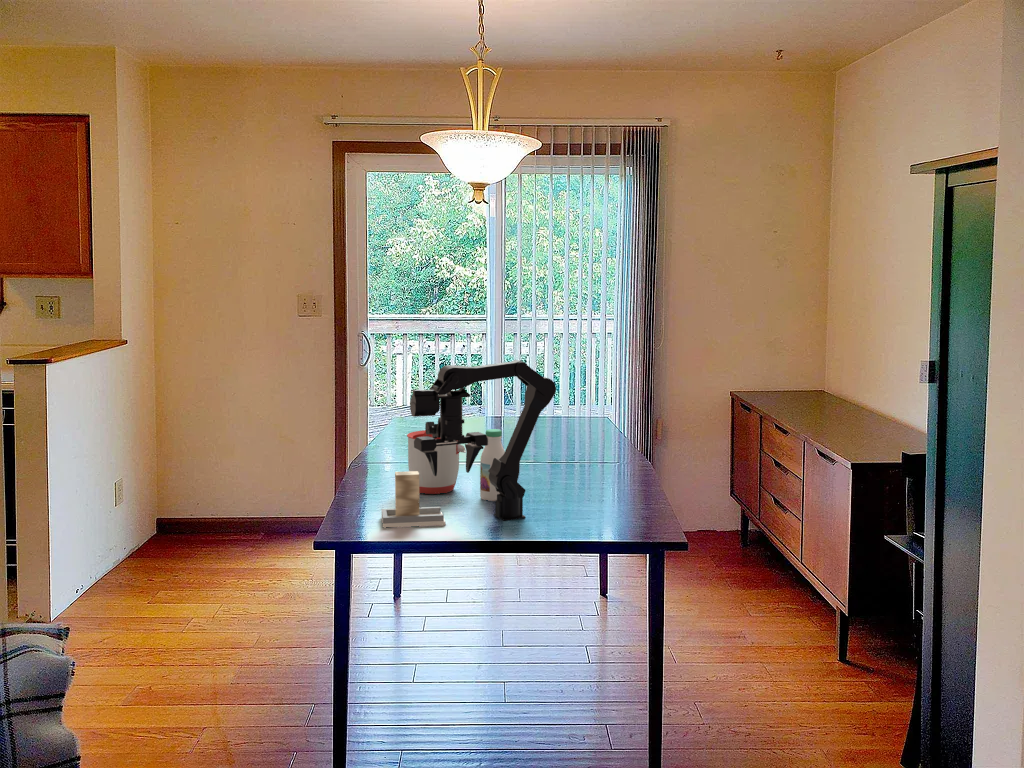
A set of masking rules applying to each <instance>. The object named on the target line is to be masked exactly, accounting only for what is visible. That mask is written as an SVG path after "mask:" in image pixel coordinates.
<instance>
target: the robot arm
mask: <svg viewBox="0 0 1024 768" xmlns="http://www.w3.org/2000/svg"><path fill="white" fill-rule="evenodd" d="M513 377H516V378H517V379H518V380H519V381H520V382H521V383H522V384H523V385H525V386H526V388H525V392H524V405H523V409H522V411H521V413H520V415H519V418H518V420H517V422H516V425H515V428H514V429H513V433H512V434H511V437H510V439H509V441H508V444H507V446H506V449H505V450H504V451H505V453H504V455H503V456H502V457H501V458H500V459H499V460H498V459H496V458H494V459H493V463H492V466H491V468H490V469H489V470H488V472H490V473H489V480H490V483H491V484H492V485H493V486H494V487H495V488H496V491H497V492H499V493H500V494H497V500H496V501H494V502H495V503H494V504H495V505H494V506H495V507H494V508H495V509H494V513H493V516H495V517H496V518H498V519H499V520H502V521H504V522H507V521H508V522H509V521H514V520H522V519H526V515H523V514H524V513H523V512H524V511H523V509H524V508H523V506H524V504H523V503H524V502H523V501H524V499H523V498H524V496H525V493H526V491H527V490H526V488H524V487H523V485H521V484H520V483H519V482H518V480H519V477H520V467H521V466H520V464H521V459H522V457H523V455H524V453H525V451H526V447H527V445H528V444H529V440H530V438H531V436H532V433H533V432H534V428H535V426H536V424H537V422H538V419H539V417H540V414H541V412H542V411H543V410H544V409H545V408H546V407H547V406H548V405H549V404H550V402H551V401H552V400H553V398H554V396H555V394H556V392H557V387H556V384H555V381H554V380H552V379H550V378H549V377H545V376H542V375H541V374H540V373H539V372H537V371H535V370H534V369H533V368H531V367H530V366H529V365H528V364H527V363H526V362H525V361H522V360H518V359H514V360H512V361H506V362H505V361H503V362H498V363H491V364H483V365H474V366H466V365H456V364H455V365H453V364H452V365H451V364H449V365H448V364H447V365H443V366H442V367H441V368H440V369H439V371H438V373H437V377H436V379H435V381H434V382H433V384H432V385H431V386H430V388H429V389H412V394H411V397H410V402H409V408H410V414H411V416H412V417H413V418H415V417H416V418H417V417H434V416H436V415H437V413H438V414H440V415H439V417H438V419H437V423H435V421H427V422H425V428H424V430H425V431H426V434H427V435H429V434H432V436H433V438H432V437H429V436H424V437H416V439H415V440H414V448H416V449H418V450H419V451H421V452H423V453H425V455H426V457H427V459H428V461H429V464H430V466H431V469H432V472H433V475H434V476H437V451H435V448H436V446H445V445H456V444H460V445H464V448H465V450H466V453H465V456H466V457H465V472H466V473H470V471H471V469H472V467H473V465H474V463H475V460H476V458H477V456H478V455H479V453H480V451H481V450H484V447H485V446H487V445H488V437H487V436H486V433H482V432H480V431H474V432H473V431H471V432H467V433H466V434H465V435H464V434H463V425H464V424H465V419H463V398H470V397H471V393H468V391H467V390H466V389H465V388H466V387H469V386H471V385H472V384H475V383H478V382H479V383H480V382H484V381H491V380H499V379H506V378H513ZM437 437H438V438H439V437H440V439H434V438H437ZM445 441H446V442H445ZM447 441H448V442H447Z"/></svg>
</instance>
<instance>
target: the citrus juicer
mask: <svg viewBox="0 0 1024 768" xmlns="http://www.w3.org/2000/svg"><path fill="white" fill-rule="evenodd" d="M424 436H429V437H432V438H433V436H432V434H429V435H427V434H426V431H425V429H424V430H423V429H422V430H417V431H416V430H415V431H411V432H409V433H407V434H406V437H407V456H408V457H407V459H408V461H407V462H408V463H407V464H408V471H418V472H419V494H420V493H425V494H427V495H428V494H429V495H431V494H432V495H435V494H438V495H439V494H440V493H446V494H447V493H450V492H452V491H453V490H454V489H455V486H456V484H457V480H458V476H459V471H460V469H459V468H460V453H465V454H466V447H465V445H464V444H456V445H445V446H436V448H435V451H437V476H434V475H433V472H432V469H431V466H430V464H429V461H428V459H427V457H426V455H425V453H423V452H421V451H419V450H418V449H416V448H414V440H415V439H416V437H424ZM434 439H440V437H439V438H438V437H437V438H434ZM445 442H446V441H445ZM447 442H448V441H447Z"/></svg>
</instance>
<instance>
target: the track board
mask: <svg viewBox="0 0 1024 768" xmlns="http://www.w3.org/2000/svg"><path fill="white" fill-rule="evenodd" d="M441 509H442V507H441V506H423V507H420V506H419V513H420V515H411V516H396V508H381V522H382V523H383V524H382V528H383V527H384V528H383V529H387V528H386V527H397V528H412V527H411V526H419V527H435V526H436V527H437V526H441V527H442V526H446V518H445V517H444V514H443V512H442V510H441Z"/></svg>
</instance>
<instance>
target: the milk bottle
mask: <svg viewBox="0 0 1024 768" xmlns="http://www.w3.org/2000/svg"><path fill="white" fill-rule="evenodd" d="M485 434H486V436H487V437H488V445H487V446H483V447H484V448H483V449H482V452H481V455H480V467H479V477H480V481H479V485H480V488H479V492H480V493H479V496H480V499H481V500H483V501H486V500H488V502H495V501H496V500H497V494H500V493H499V492H497V491H496V488H495V487H494V486H493V485H492V484H491V483H490V480H489V473H490V472H488V470H489V469H490V468H491V466H492V463H493V459H494V458H496V459H498V460H499V459H500V458H501V457H502V456H503V455H504V453H505V451H506V450H505V448H504V447H503V444H502V438H503V437H502V435H503V432H502V430H501V429H498V428H497V429H496V428H492V429H491V428H490V429H486V430H485Z"/></svg>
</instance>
